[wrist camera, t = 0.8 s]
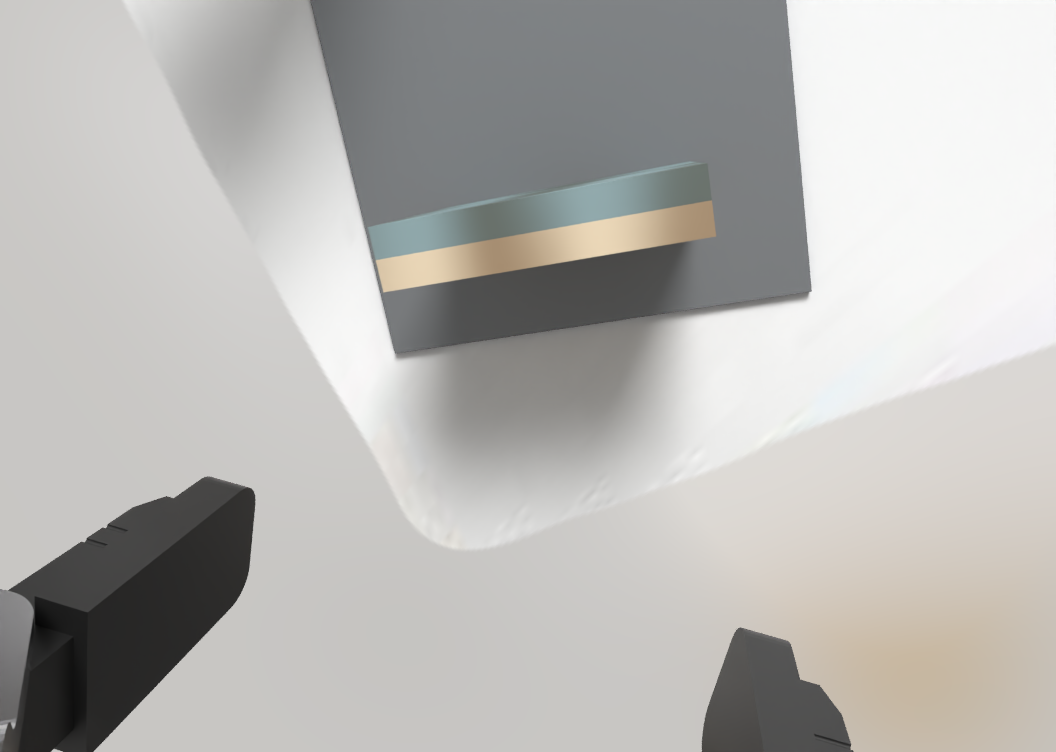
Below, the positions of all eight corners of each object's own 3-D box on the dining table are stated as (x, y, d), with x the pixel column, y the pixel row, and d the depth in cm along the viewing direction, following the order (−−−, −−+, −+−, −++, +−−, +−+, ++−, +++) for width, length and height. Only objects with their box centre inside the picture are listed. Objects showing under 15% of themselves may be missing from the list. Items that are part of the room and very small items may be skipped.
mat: (769, -167, 31) (771, -171, 31) (810, 290, 36) (811, 291, 36) (304, -40, 36) (300, -42, 36) (397, 351, 41) (395, 353, 41)
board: (689, 161, 35) (707, 163, 24) (696, 211, 36) (716, 236, 24) (453, 206, 38) (367, 227, 26) (463, 252, 38) (383, 292, 27)
